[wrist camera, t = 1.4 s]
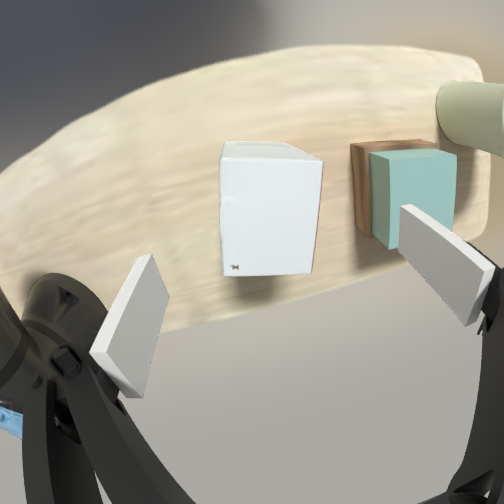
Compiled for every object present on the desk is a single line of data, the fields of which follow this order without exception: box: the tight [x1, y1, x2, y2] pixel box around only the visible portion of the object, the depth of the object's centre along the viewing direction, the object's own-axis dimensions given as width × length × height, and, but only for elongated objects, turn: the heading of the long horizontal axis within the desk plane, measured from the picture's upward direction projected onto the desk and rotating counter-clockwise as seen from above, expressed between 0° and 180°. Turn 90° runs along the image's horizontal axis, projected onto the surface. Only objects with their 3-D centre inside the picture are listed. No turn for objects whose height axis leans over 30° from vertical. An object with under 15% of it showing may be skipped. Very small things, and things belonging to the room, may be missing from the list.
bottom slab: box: [350, 139, 437, 238], centre depth 28 cm, size 10×10×4 cm
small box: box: [219, 141, 324, 277], centre depth 22 cm, size 8×6×13 cm
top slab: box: [369, 148, 457, 250], centre depth 24 cm, size 9×9×4 cm
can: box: [436, 80, 504, 158], centre depth 19 cm, size 9×9×12 cm
